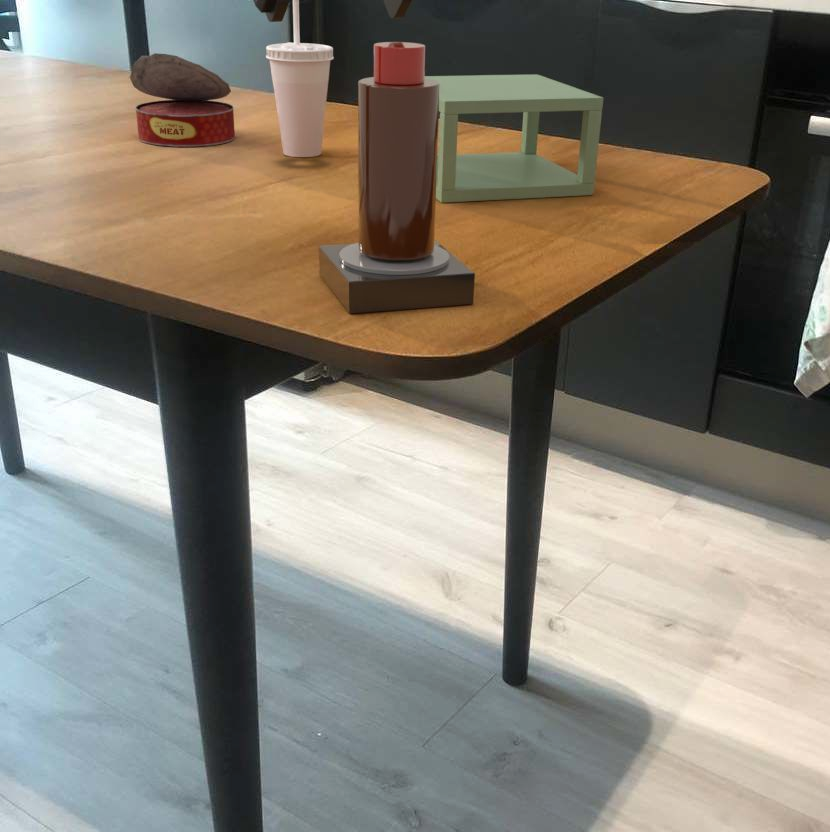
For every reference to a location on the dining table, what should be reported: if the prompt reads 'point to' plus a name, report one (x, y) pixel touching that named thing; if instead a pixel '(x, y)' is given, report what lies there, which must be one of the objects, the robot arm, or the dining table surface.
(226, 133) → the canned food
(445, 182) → the stand
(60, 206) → the dining table surface
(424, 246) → the spice bottle
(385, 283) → the stove
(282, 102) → the smoothie
